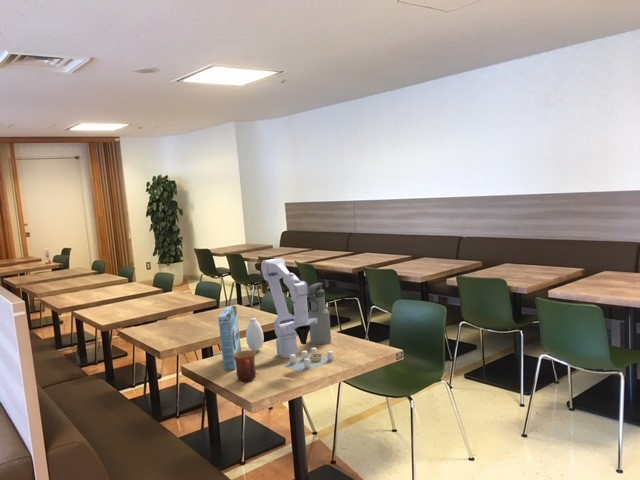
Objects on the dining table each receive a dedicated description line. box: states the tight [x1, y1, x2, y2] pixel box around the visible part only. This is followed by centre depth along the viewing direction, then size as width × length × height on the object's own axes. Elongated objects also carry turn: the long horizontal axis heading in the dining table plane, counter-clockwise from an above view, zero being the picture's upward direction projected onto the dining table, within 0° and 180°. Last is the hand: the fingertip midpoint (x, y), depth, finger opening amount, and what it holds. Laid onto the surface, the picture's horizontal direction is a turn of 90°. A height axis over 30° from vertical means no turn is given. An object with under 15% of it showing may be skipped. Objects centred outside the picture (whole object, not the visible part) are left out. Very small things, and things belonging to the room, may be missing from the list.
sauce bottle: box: [245, 312, 265, 352], centre depth 238 cm, size 8×8×18 cm
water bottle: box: [307, 282, 332, 345], centre depth 242 cm, size 10×10×28 cm
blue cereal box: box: [218, 305, 242, 371], centre depth 224 cm, size 19×5×23 cm, turn 0°
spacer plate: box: [282, 347, 336, 373], centre depth 215 cm, size 13×18×4 cm
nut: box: [310, 353, 323, 362], centre depth 217 cm, size 5×4×2 cm
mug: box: [233, 349, 257, 383], centre depth 202 cm, size 12×9×10 cm
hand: (303, 343), depth 213 cm, fingers closed
